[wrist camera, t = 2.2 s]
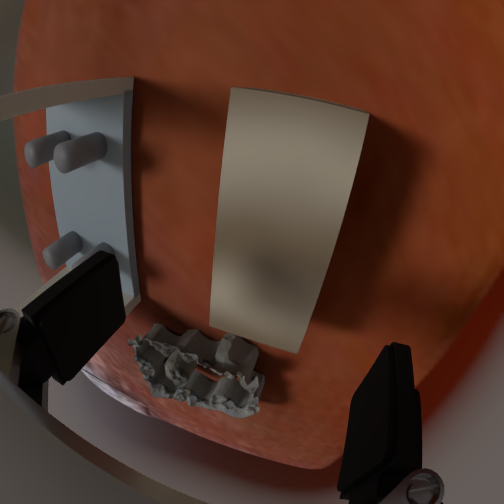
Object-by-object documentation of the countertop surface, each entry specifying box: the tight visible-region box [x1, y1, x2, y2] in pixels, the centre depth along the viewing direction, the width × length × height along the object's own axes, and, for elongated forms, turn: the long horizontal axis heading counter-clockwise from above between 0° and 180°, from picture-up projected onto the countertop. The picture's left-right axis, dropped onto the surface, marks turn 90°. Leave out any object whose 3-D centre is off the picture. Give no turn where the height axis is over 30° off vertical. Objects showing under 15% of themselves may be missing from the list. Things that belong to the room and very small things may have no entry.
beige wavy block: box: [209, 87, 370, 354], centre depth 14 cm, size 12×5×4 cm, turn 172°
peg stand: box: [0, 77, 141, 317], centre depth 16 cm, size 17×8×9 cm, turn 172°
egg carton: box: [128, 323, 265, 418], centre depth 23 cm, size 11×8×4 cm
